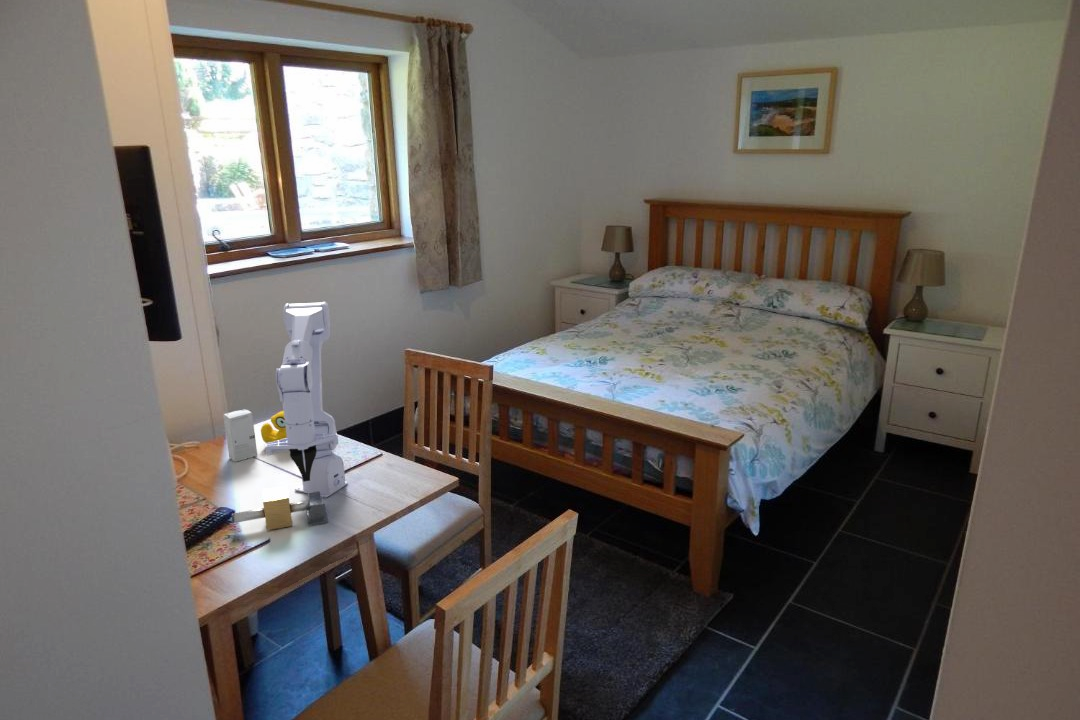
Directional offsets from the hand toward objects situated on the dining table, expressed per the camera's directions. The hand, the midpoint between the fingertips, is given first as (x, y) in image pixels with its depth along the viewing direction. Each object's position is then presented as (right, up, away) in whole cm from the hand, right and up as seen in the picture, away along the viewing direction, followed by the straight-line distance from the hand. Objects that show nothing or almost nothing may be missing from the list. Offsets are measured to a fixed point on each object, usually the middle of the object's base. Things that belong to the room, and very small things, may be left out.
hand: (306, 479), depth 152 cm
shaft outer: (-10, -8, -2) cm, 13 cm away
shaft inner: (-2, -7, +1) cm, 7 cm away
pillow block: (+1, -9, +3) cm, 9 cm away
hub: (-6, -9, +1) cm, 11 cm away
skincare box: (-27, 0, +33) cm, 43 cm away
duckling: (-19, +2, +39) cm, 44 cm away
